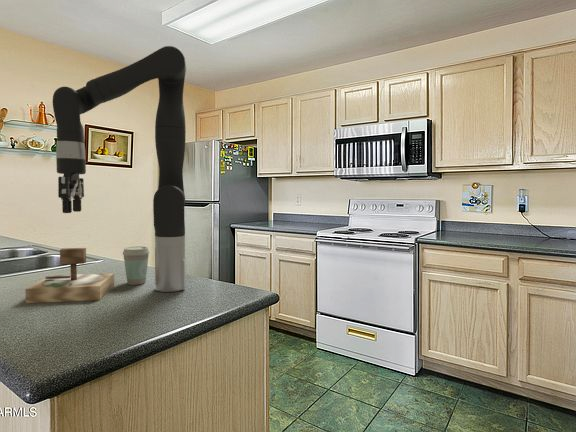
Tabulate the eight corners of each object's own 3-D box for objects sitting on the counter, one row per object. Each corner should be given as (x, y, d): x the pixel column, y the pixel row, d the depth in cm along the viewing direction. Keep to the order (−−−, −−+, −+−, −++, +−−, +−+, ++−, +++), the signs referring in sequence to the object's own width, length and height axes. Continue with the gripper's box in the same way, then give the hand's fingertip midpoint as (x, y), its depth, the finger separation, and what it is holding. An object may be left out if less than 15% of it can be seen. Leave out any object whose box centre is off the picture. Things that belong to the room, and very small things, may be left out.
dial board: (114, 285, 124) (114, 272, 124) (100, 299, 107) (99, 284, 107) (50, 287, 120) (50, 274, 120) (25, 303, 103) (25, 287, 103)
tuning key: (86, 278, 115) (85, 247, 115) (84, 279, 113) (83, 249, 112) (47, 279, 113) (46, 248, 112) (44, 281, 111) (43, 249, 110)
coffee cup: (140, 286, 123) (140, 250, 122) (117, 284, 124) (116, 249, 124) (154, 280, 131) (154, 246, 130) (133, 279, 133) (132, 245, 132)
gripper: (76, 156, 105) (78, 213, 106) (92, 160, 119) (93, 211, 120) (47, 155, 103) (48, 213, 104) (66, 159, 117) (67, 211, 118)
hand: (72, 212), depth 112 cm, fingers open, 8 cm apart
